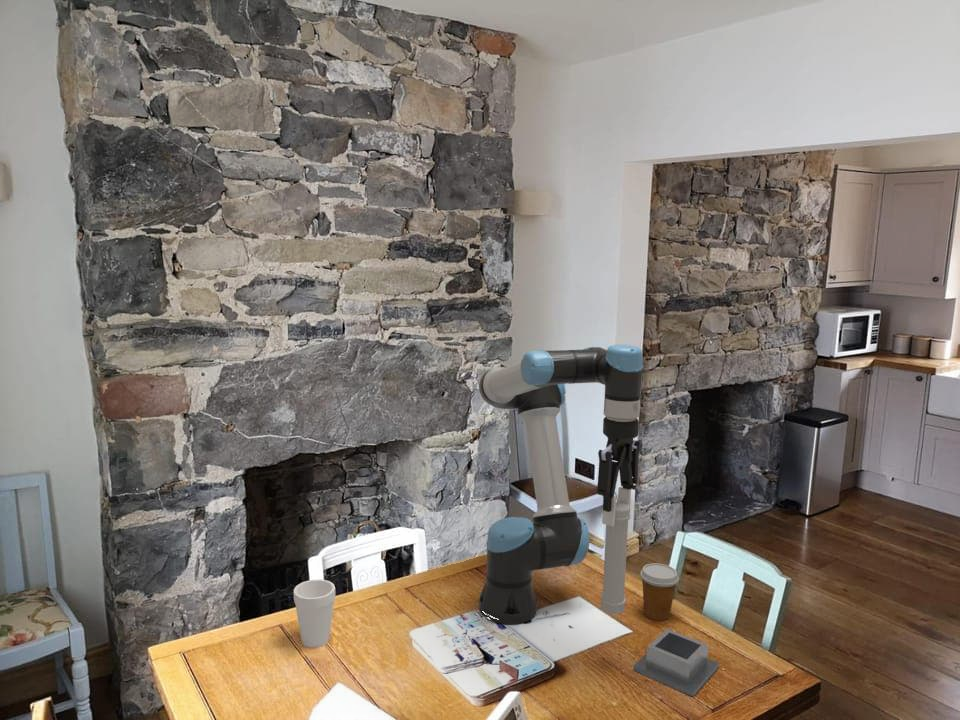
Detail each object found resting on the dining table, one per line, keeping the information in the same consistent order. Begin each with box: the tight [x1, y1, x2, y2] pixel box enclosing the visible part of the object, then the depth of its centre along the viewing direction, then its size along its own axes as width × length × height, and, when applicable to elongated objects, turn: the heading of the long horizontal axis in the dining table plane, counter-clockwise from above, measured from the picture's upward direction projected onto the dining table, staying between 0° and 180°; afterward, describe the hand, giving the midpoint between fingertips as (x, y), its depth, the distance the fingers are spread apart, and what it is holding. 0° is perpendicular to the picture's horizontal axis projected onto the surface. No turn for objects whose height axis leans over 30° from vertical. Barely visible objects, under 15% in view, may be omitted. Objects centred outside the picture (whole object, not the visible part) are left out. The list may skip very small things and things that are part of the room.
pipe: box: [600, 491, 631, 615], centre depth 155 cm, size 6×6×30 cm
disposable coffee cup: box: [640, 562, 680, 621], centre depth 181 cm, size 10×10×12 cm
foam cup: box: [293, 579, 336, 649], centre depth 165 cm, size 10×9×13 cm
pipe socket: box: [632, 628, 720, 698], centre depth 158 cm, size 14×14×6 cm
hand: (615, 520), depth 154 cm, fingers closed on pipe, 5 cm apart
